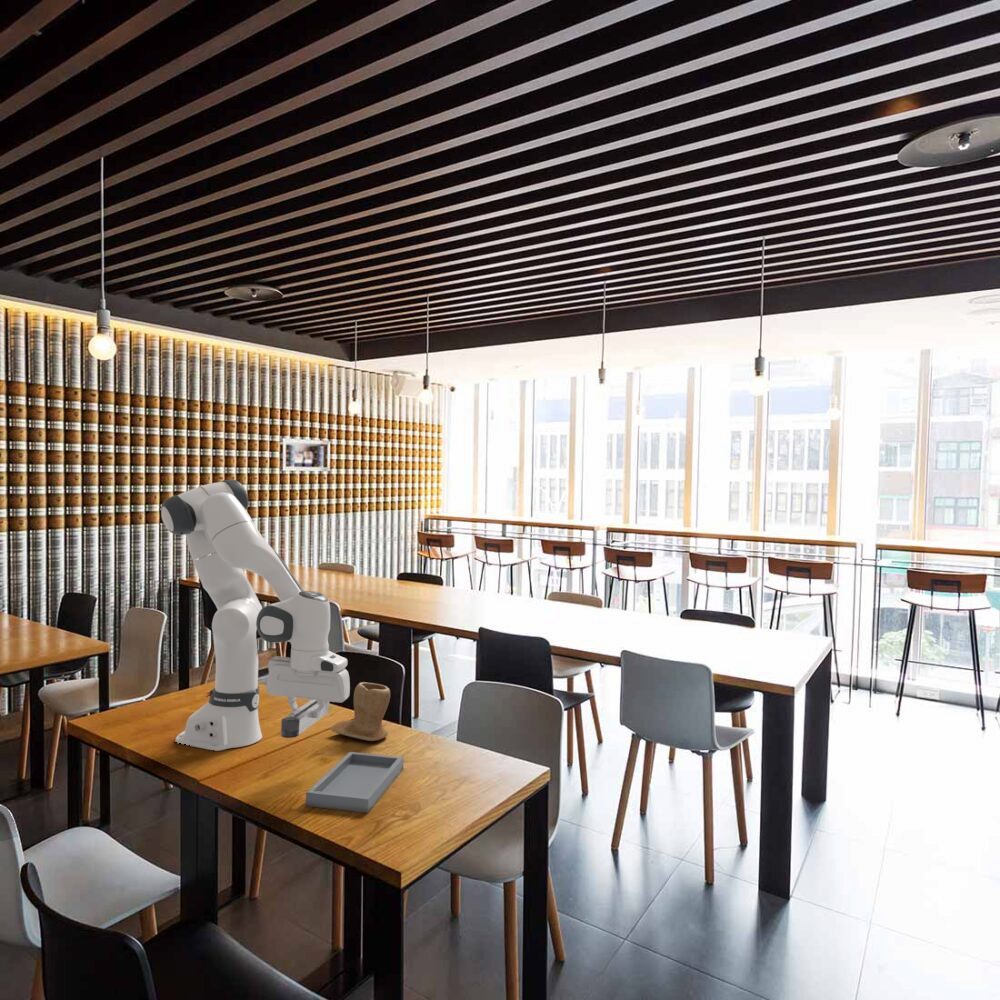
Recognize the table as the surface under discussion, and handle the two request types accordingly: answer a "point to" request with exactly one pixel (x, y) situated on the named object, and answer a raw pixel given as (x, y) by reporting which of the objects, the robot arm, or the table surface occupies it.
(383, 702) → the stone cup
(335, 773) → the utensil tray
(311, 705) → the steel tongs
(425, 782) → the table surface
